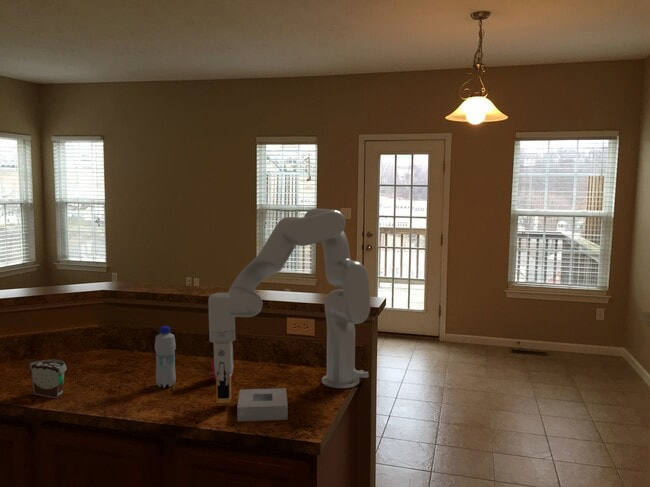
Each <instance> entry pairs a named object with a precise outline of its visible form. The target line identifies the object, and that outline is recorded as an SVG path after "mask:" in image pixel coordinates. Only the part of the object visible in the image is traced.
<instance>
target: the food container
mask: <svg viewBox="0 0 650 487" xmlns="http://www.w3.org/2000/svg"><path fill="white" fill-rule="evenodd" d="M29 370H31V378H32V388H33V395H34V396H35V395H36V396H41V397H46V398H54V399H60V398H61V397H62V396H63V395H64V385H65V383H64V382H65V372H66V371H67V365H66V363H65V361H64V360H62V359H61V360H60V359H44V360H38V361H32V362H30V365H29Z"/></svg>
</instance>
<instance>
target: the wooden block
mask: <svg viewBox="0 0 650 487" xmlns="http://www.w3.org/2000/svg"><path fill="white" fill-rule="evenodd" d="M219 374H220V373H219ZM224 374H226V373H224ZM224 378H225V379H226V377H224ZM215 382H216V383H215V386H216V390H215V391H216V404H231V403H232V378H231V376H230V375H228V384H229V398H224V399H218V388H217V385H218V376H216V380H215Z"/></svg>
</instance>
